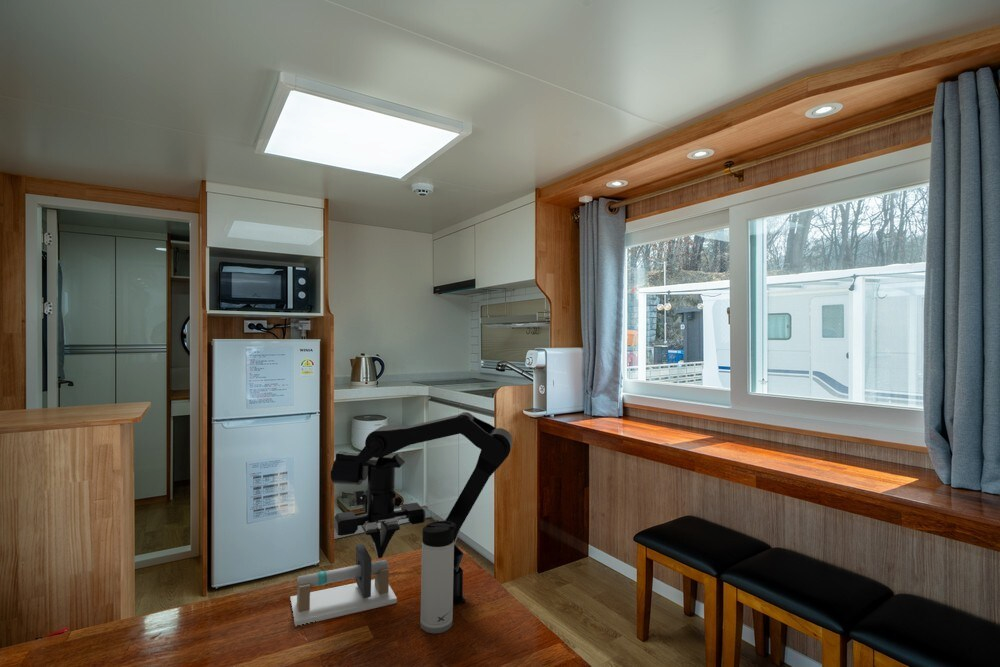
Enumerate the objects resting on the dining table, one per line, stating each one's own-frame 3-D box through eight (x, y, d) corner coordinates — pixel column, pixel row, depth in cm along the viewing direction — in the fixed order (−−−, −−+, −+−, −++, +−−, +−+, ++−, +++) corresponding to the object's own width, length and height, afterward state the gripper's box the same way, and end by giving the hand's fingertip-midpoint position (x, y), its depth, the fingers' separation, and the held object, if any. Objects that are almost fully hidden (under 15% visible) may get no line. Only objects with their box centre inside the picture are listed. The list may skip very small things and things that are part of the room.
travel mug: (448, 636, 97) (450, 531, 97) (415, 631, 98) (417, 528, 98) (457, 618, 103) (460, 519, 103) (426, 613, 105) (428, 516, 104)
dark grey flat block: (362, 579, 114) (363, 543, 114) (370, 596, 107) (371, 558, 107) (355, 580, 113) (356, 544, 113) (363, 598, 106) (364, 559, 106)
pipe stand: (384, 581, 117) (385, 549, 117) (396, 602, 108) (397, 568, 108) (290, 601, 108) (290, 566, 108) (295, 626, 99) (295, 589, 99)
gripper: (411, 471, 123) (410, 536, 123) (330, 480, 114) (329, 549, 115) (427, 484, 113) (425, 555, 113) (339, 495, 104) (337, 571, 105)
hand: (379, 557), depth 112 cm, fingers closed
